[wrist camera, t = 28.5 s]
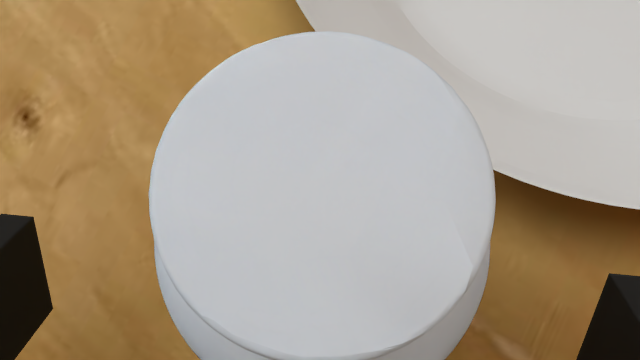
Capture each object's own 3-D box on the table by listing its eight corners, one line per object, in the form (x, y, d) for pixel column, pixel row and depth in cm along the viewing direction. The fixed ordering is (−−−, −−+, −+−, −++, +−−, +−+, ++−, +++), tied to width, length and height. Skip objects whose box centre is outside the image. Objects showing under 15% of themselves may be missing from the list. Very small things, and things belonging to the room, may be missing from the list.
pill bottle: (193, 243, 19) (2, 94, 8) (357, 154, 20) (397, -94, 9) (284, 423, 17) (205, 564, 6) (458, 318, 18) (670, 274, 7)
